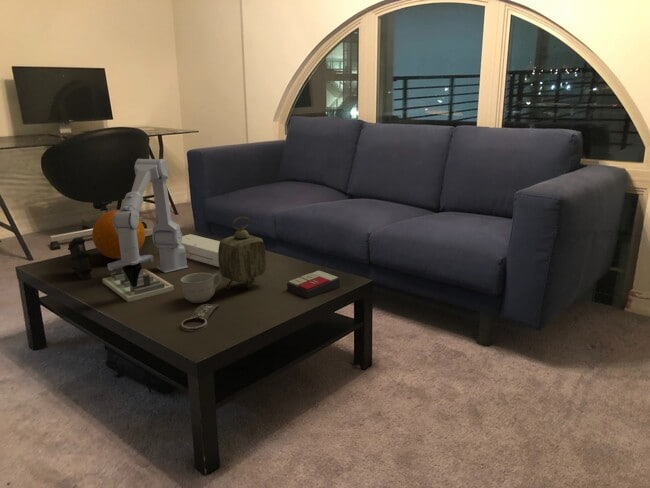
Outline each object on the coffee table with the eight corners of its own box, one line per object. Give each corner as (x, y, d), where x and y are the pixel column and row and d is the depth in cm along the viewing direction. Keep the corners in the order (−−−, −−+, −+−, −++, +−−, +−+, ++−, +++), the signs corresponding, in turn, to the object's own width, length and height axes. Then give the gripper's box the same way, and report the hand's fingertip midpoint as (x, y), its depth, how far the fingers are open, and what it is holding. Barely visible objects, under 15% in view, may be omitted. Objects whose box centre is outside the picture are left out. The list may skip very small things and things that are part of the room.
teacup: (187, 308, 173) (184, 284, 171) (179, 297, 182) (176, 274, 180) (229, 300, 179) (227, 277, 177) (219, 289, 189) (218, 267, 186)
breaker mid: (130, 282, 191) (129, 269, 190) (132, 283, 190) (130, 270, 189) (125, 283, 190) (123, 270, 189) (126, 285, 189) (125, 271, 188)
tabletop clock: (253, 278, 199) (250, 211, 192) (269, 284, 192) (266, 215, 185) (220, 289, 189) (215, 218, 182) (235, 295, 183) (231, 223, 176)
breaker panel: (145, 272, 206) (144, 265, 205) (173, 289, 189) (173, 281, 188) (102, 282, 196) (101, 274, 196) (128, 301, 179) (127, 293, 178)
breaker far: (121, 275, 198) (119, 263, 197) (122, 277, 197) (121, 264, 195) (115, 277, 197) (113, 264, 195) (117, 278, 196) (115, 265, 194)
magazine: (83, 278, 196) (73, 238, 197) (76, 284, 207) (66, 246, 207) (94, 276, 198) (83, 236, 199) (86, 282, 209) (76, 244, 210)
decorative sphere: (100, 269, 211) (93, 218, 205) (92, 255, 227) (85, 208, 222) (152, 260, 220) (147, 212, 215) (141, 248, 237) (136, 202, 231)
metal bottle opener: (224, 307, 175) (223, 301, 174) (202, 333, 157) (201, 327, 156) (201, 306, 176) (200, 300, 175) (176, 332, 158) (175, 325, 157)
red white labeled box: (286, 280, 187) (318, 268, 196) (287, 292, 188) (319, 279, 198) (307, 289, 179) (340, 275, 188) (308, 301, 180) (340, 287, 190)
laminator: (170, 253, 230) (169, 239, 228) (193, 246, 239) (192, 233, 237) (224, 269, 210) (223, 254, 208) (248, 261, 219) (247, 246, 217)
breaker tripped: (149, 287, 187) (147, 274, 185) (151, 288, 186) (149, 275, 184) (143, 288, 185) (142, 275, 184) (145, 290, 184) (144, 276, 183)
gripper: (111, 254, 171) (116, 294, 175) (155, 245, 180) (159, 283, 184) (103, 249, 176) (108, 288, 180) (146, 240, 185) (150, 278, 189)
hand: (133, 285), depth 182 cm, fingers closed
